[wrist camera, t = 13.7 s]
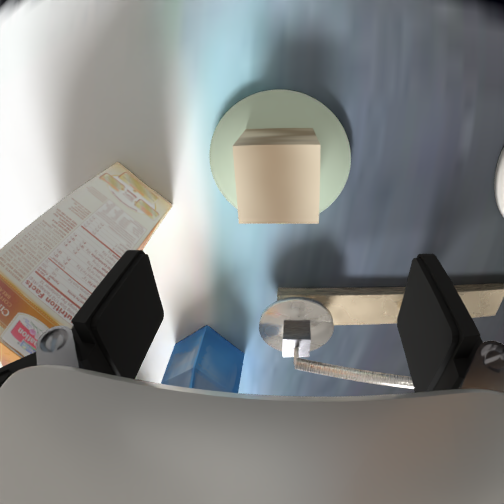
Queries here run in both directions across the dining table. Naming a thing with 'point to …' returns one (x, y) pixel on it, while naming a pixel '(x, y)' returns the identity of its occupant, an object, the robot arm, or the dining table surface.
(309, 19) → the dining table surface
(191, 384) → the perfume bottle
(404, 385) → the balance scale
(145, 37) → the dining table surface
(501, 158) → the white dish
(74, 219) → the coffeecake box
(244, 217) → the birch block
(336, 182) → the sage dish
